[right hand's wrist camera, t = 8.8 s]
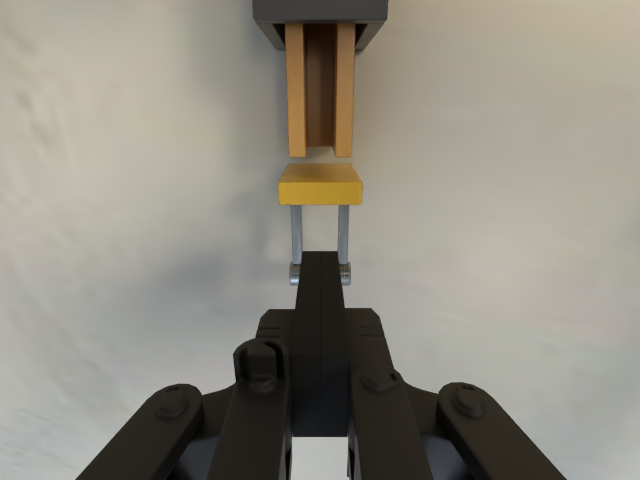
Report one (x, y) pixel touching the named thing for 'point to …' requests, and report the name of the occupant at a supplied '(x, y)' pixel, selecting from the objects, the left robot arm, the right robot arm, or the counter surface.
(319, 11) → the dark grey box
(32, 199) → the counter surface
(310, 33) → the drawer
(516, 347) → the counter surface
